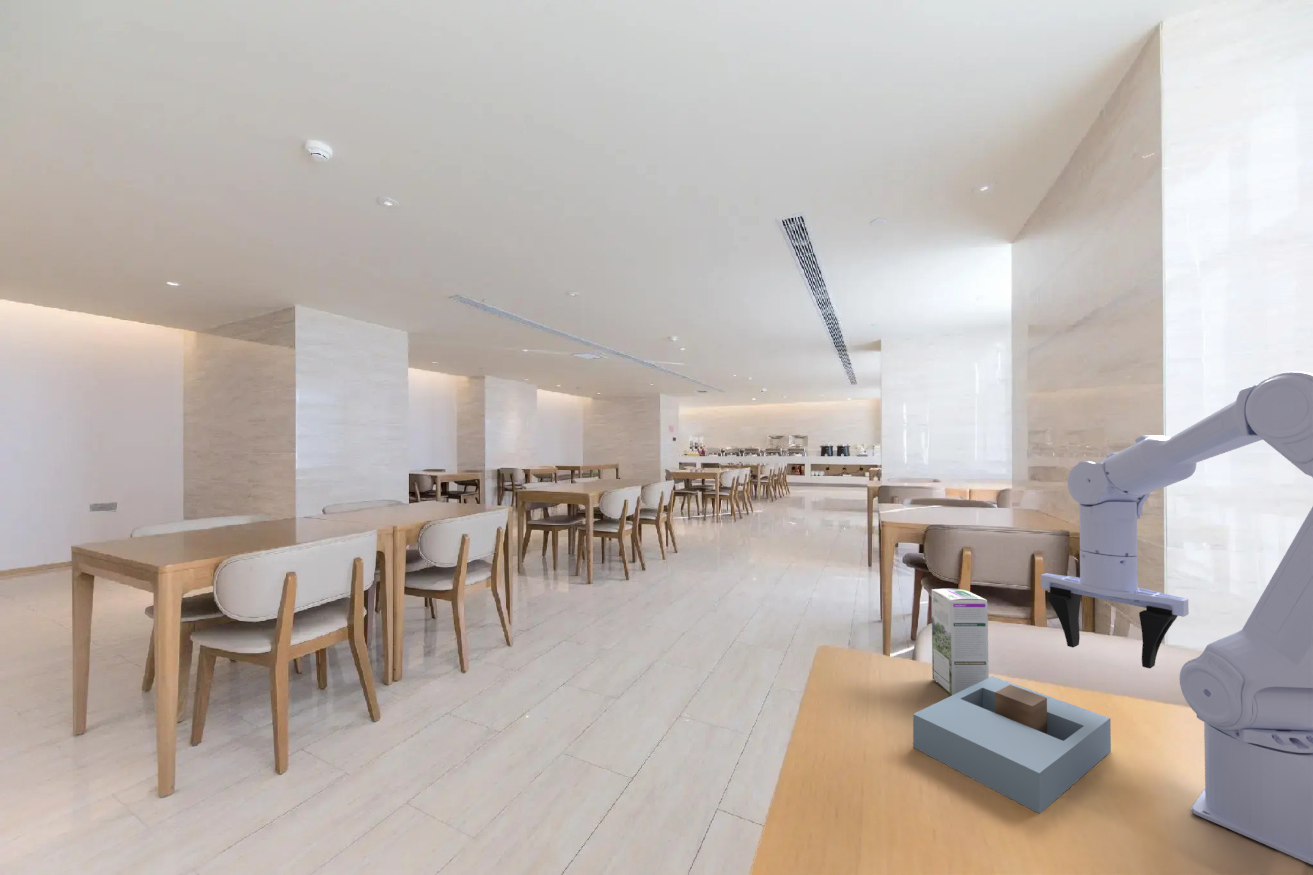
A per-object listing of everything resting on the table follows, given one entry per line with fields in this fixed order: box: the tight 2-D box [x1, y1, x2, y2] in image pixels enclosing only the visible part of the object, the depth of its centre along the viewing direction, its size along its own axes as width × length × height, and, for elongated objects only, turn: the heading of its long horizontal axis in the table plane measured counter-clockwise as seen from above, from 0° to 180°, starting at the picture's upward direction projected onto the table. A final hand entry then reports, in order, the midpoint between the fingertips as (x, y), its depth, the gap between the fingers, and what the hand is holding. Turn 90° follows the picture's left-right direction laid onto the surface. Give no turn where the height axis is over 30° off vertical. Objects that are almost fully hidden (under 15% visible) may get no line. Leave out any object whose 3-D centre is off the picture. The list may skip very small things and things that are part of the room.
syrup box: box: [931, 588, 990, 696], centre depth 76 cm, size 6×6×14 cm
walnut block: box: [995, 685, 1047, 734], centre depth 62 cm, size 4×4×6 cm
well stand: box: [912, 676, 1112, 814], centre depth 60 cm, size 13×20×4 cm, turn 122°
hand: (1108, 655), depth 66 cm, fingers open, 7 cm apart
